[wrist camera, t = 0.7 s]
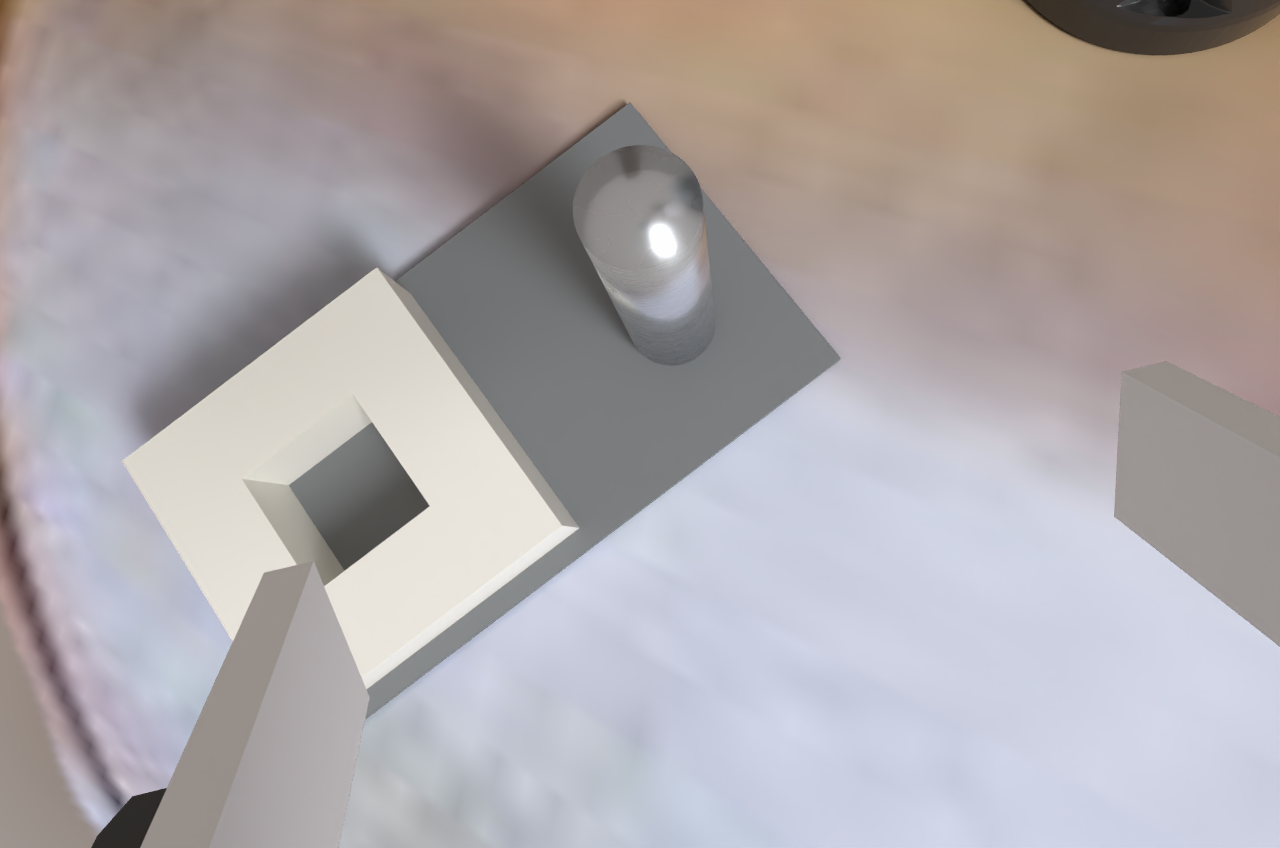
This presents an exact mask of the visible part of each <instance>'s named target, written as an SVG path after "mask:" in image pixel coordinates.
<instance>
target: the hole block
mask: <svg viewBox="0 0 1280 848" xmlns="http://www.w3.org/2000/svg"><path fill="white" fill-rule="evenodd" d="M371 422H372V423H373V424H374V425H375V427H376V428H377V430H378V431H379V433H380V434H381V436H382V437H383V439H384V440H385V441H386V443H387V444H388V446H389V447H390V449H391V450H392V452H393V453H394V455H395V456H396V458H397V459H398V460H399V462H400V463H401V465H402V466H403V468H404V469H405V471H406V472H407V474H408V475H409V476H410V478H411V479H412V481H413V482H414V484H415V485H416V487H417V488H418V490H419V491H420V492H421V494H422V495H423V497H424V498H425V500H426V501H427V503H428V504H429V507H428V508H427V509H426V510H424V511H423V512H422V513H420V514H419V515H418V516H416V517H415V518H414V519H412V520H411V521H410V522H408V523H407V524H406V525H404V526H403V527H402V528H400V529H399V530H398V531H397V532H395V533H394V534H393V535H391V536H390V537H389V538H387V539H386V540H385V541H383V542H382V543H381V544H379V545H378V546H377V547H375V548H374V549H373V550H371V551H370V552H369V553H368V554H366V555H365V556H364V557H362V558H361V559H360V560H358V561H357V562H356V563H354V564H353V565H352V566H350V567H349V568H348V569H346V570H345V571H344V569H343V567H342V566H341V564H340V563H339V561H338V560H337V558H336V557H335V555H334V554H333V552H332V551H331V549H330V548H329V546H328V545H327V543H326V541H325V540H324V538H323V537H322V535H321V534H320V532H319V531H318V529H317V528H316V526H315V525H314V523H313V522H312V520H311V519H310V517H309V515H308V514H307V512H306V511H305V509H304V508H303V506H302V505H301V503H300V502H299V500H298V499H297V497H296V496H295V494H294V493H293V491H292V490H291V488H290V486H289V485H290V484H291V483H292V482H294V481H295V480H296V479H298V478H299V477H300V476H302V475H303V474H304V473H306V472H307V471H308V470H309V469H311V468H312V467H313V466H315V465H316V464H317V463H319V462H320V461H321V460H323V459H324V458H325V457H327V456H328V455H329V454H331V453H332V452H333V451H334V450H336V449H337V448H338V447H340V446H341V445H342V444H344V443H345V442H346V441H348V440H349V439H350V438H352V437H353V436H354V435H356V434H357V433H358V432H360V431H361V430H362V429H363V428H365V427H366V426H367V425H369V424H370V423H371ZM122 462H123V464H124V465H125V467H126V468H127V470H128V472H129V473H130V475H131V477H132V478H133V480H134V481H135V483H136V485H137V486H138V488H139V490H140V491H141V493H142V494H143V496H144V498H145V499H146V501H147V503H148V504H149V506H150V507H151V509H152V511H153V512H154V514H155V516H156V517H157V519H158V520H159V522H160V524H161V525H162V527H163V529H164V530H165V532H166V533H167V535H168V537H169V538H170V540H171V542H172V543H173V545H174V546H175V548H176V550H177V551H178V553H179V555H180V556H181V558H182V559H183V561H184V563H185V564H186V566H187V568H188V569H189V571H190V572H191V574H192V576H193V577H194V579H195V581H196V582H197V584H198V585H199V587H200V589H201V590H202V592H203V594H204V595H205V597H206V598H207V600H208V602H209V603H210V605H211V607H212V608H213V610H214V611H215V613H216V615H217V616H218V618H219V620H220V621H221V623H222V624H223V626H224V628H225V629H226V631H227V633H228V634H229V636H230V637H231V639H232V641H233V640H234V638H235V636H236V634H237V631H238V629H239V627H240V625H241V623H242V620H243V618H244V616H245V614H246V611H247V609H248V607H249V605H250V603H251V600H252V598H253V596H254V594H255V591H256V589H257V587H258V585H259V583H260V580H261V578H262V576H263V574H264V573H265V572H269V571H273V570H277V569H282V568H286V567H290V566H294V565H299V564H303V563H307V562H312V561H314V563H315V566H316V568H317V570H318V573H319V575H320V578H321V580H322V583H323V585H324V587H325V590H326V592H327V595H328V597H329V600H330V602H331V605H332V607H333V609H334V612H335V614H336V617H337V619H338V622H339V624H340V626H341V629H342V631H343V634H344V636H345V639H346V641H347V643H348V646H349V648H350V651H351V653H352V656H353V658H354V660H355V663H356V665H357V668H358V670H359V673H360V675H361V678H362V680H363V682H364V685H365V687H366V690H367V689H368V688H369V687H370V686H372V685H373V684H374V683H376V682H377V681H378V680H380V679H381V678H382V677H384V676H385V675H386V674H388V673H389V672H390V671H392V670H393V669H394V668H396V667H397V666H398V665H399V664H401V663H402V662H403V661H405V660H406V659H407V658H409V657H410V656H411V655H413V654H414V653H415V652H417V651H418V650H419V649H421V648H422V647H423V646H425V645H426V644H427V643H429V642H430V641H431V640H432V639H434V638H435V637H436V636H438V635H439V634H440V633H442V632H443V631H444V630H446V629H447V628H448V627H450V626H451V625H452V624H454V623H455V622H456V621H458V620H459V619H460V618H462V617H463V616H464V615H465V614H467V613H468V612H469V611H471V610H472V609H473V608H475V607H476V606H477V605H479V604H480V603H481V602H483V601H484V600H485V599H487V598H488V597H489V596H491V595H492V594H493V593H495V592H496V591H497V590H498V589H500V588H501V587H502V586H504V585H505V584H506V583H508V582H509V581H510V580H512V579H513V578H514V577H516V576H517V575H518V574H520V573H521V572H522V571H524V570H525V569H526V568H528V567H529V566H530V565H531V564H533V563H534V562H535V561H537V560H538V559H539V558H541V557H542V556H543V555H545V554H546V553H547V552H549V551H550V550H551V549H553V548H554V547H555V546H557V545H558V544H559V543H560V542H562V541H563V540H564V539H566V538H567V537H568V536H570V535H571V534H572V533H574V532H575V531H576V530H578V529H579V526H578V525H577V523H576V522H575V521H574V519H573V518H572V517H571V515H570V514H569V512H568V511H567V510H566V508H565V507H564V505H563V504H562V503H561V501H560V500H559V499H558V497H557V496H556V494H555V493H554V492H553V490H552V489H551V487H550V486H549V485H548V483H547V482H546V481H545V479H544V478H543V476H542V475H541V474H540V472H539V471H538V469H537V468H536V467H535V465H534V464H533V463H532V461H531V460H530V458H529V457H528V456H527V454H526V453H525V451H524V450H523V449H522V447H521V446H520V444H519V443H518V442H517V440H516V439H515V438H514V436H513V435H512V433H511V432H510V431H509V429H508V428H507V426H506V425H505V424H504V422H503V421H502V420H501V418H500V417H499V415H498V414H497V413H496V411H495V410H494V408H493V407H492V406H491V404H490V403H489V402H488V400H487V399H486V397H485V396H484V395H483V393H482V392H481V390H480V389H479V388H478V386H477V385H476V383H475V382H474V381H473V379H472V378H471V377H470V375H469V374H468V372H467V371H466V370H465V368H464V367H463V365H462V364H461V363H460V361H459V360H458V359H457V357H456V356H455V354H454V353H453V352H452V350H451V349H450V347H449V346H448V345H447V343H446V342H445V341H444V339H443V338H442V336H441V335H440V334H439V332H438V331H437V329H436V328H435V327H434V325H433V324H432V323H431V321H430V320H429V318H428V317H427V316H426V314H425V313H424V311H423V310H422V309H421V307H420V306H419V304H418V303H417V302H416V300H415V299H414V298H413V296H412V295H411V293H409V292H408V291H407V290H405V289H404V288H403V287H402V286H400V285H399V284H398V283H396V282H395V281H394V280H393V279H391V278H390V277H389V276H387V275H386V274H385V273H384V272H382V271H381V270H380V269H378V268H377V267H376V268H375V269H374V270H372V271H371V272H370V273H368V274H367V275H366V276H365V277H363V278H362V279H361V280H359V281H358V282H357V283H355V284H354V285H353V286H351V287H350V288H349V289H347V290H346V291H345V292H343V293H342V294H341V295H340V296H338V297H337V298H336V299H334V300H333V301H332V302H330V303H329V304H328V305H326V306H325V307H324V308H322V309H321V310H320V311H318V312H317V313H316V314H315V315H313V316H312V317H311V318H309V319H308V320H307V321H305V322H304V323H303V324H301V325H300V326H299V327H297V328H296V329H295V330H294V331H292V332H291V333H290V334H288V335H287V336H286V337H284V338H283V339H282V340H280V341H279V342H278V343H276V344H275V345H274V346H272V347H271V348H270V349H269V350H267V351H266V352H265V353H263V354H262V355H261V356H259V357H258V358H257V359H255V360H254V361H253V362H251V363H250V364H249V365H247V366H246V367H245V368H244V369H242V370H241V371H240V372H238V373H237V374H236V375H234V376H233V377H232V378H230V379H229V380H228V381H226V382H225V383H224V384H223V385H221V386H220V387H219V388H217V389H216V390H215V391H213V392H212V393H211V394H209V395H208V396H207V397H205V398H204V399H203V400H201V401H200V402H199V403H198V404H196V405H195V406H194V407H192V408H191V409H190V410H188V411H187V412H186V413H184V414H183V415H182V416H180V417H179V418H178V419H176V420H175V421H174V422H173V423H171V424H170V425H169V426H167V427H166V428H165V429H163V430H162V431H161V432H159V433H158V434H157V435H155V436H154V437H153V438H151V439H150V440H149V441H148V442H146V443H145V444H144V445H142V446H141V447H140V448H138V449H137V450H136V451H134V452H133V453H132V454H130V455H129V456H128V457H127V458H125V459H124V460H123V461H122Z"/></svg>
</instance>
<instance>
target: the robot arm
mask: <svg viewBox="0 0 1280 848" xmlns="http://www.w3.org/2000/svg"><path fill="white" fill-rule="evenodd" d="M1027 1H1028V2H1029V3H1030V4H1031V5H1032V6H1033V7H1034V8H1035V9H1036V10H1037V11H1038V12H1039V13H1041V14H1042V15H1043V16H1044V17H1045V18H1047V19H1048V20H1050V21H1051V22H1052V23H1054V24H1055V25H1057V26H1058V27H1060V28H1062V29H1063V30H1065V31H1067V32H1068V33H1070V34H1072V35H1074V36H1076V37H1078V38H1081V39H1083V40H1085V41H1088V42H1090V43H1093V44H1096V45H1099V46H1102V47H1105V48H1109V49H1113V50H1117V51H1122V52H1127V53H1135V54H1145V55H1174V54H1184V53H1192V52H1197V51H1202V50H1206V49H1210V48H1214V47H1218V46H1221V45H1223V44H1226V43H1229V42H1232V41H1234V40H1236V39H1239V38H1241V37H1243V36H1245V35H1247V34H1249V33H1251V32H1253V31H1255V30H1257V29H1258V28H1260V27H1262V26H1263V25H1265V24H1266V23H1268V22H1269V21H1270V20H1272V19H1273V18H1275V17H1276V16H1277V15H1278V14H1280V0H1027ZM1114 517H1115V518H1117V519H1118V520H1119V521H1121V522H1122V523H1123V524H1124V525H1126V526H1127V527H1128V528H1129V529H1131V530H1132V531H1133V532H1135V533H1136V534H1137V535H1138V536H1140V537H1141V538H1142V539H1144V540H1145V541H1146V542H1147V543H1149V544H1150V545H1151V546H1152V547H1154V548H1155V549H1156V550H1158V551H1159V552H1160V553H1161V554H1163V555H1164V556H1165V557H1166V558H1168V559H1169V560H1170V561H1172V562H1173V563H1174V564H1175V565H1177V566H1178V567H1179V568H1180V569H1182V570H1183V571H1184V572H1186V573H1187V574H1188V575H1189V576H1191V577H1192V578H1193V579H1194V580H1196V581H1197V582H1198V583H1200V584H1201V585H1202V586H1203V587H1205V588H1206V589H1207V590H1208V591H1210V592H1211V593H1212V594H1214V595H1215V596H1216V597H1217V598H1219V599H1220V600H1221V601H1222V602H1224V603H1225V604H1226V605H1228V606H1229V607H1230V608H1231V609H1233V610H1234V611H1235V612H1236V613H1238V614H1239V615H1240V616H1242V617H1243V618H1244V619H1245V620H1247V621H1248V622H1249V623H1250V624H1252V625H1253V626H1254V627H1256V628H1257V629H1258V630H1259V631H1261V632H1262V633H1263V634H1264V635H1266V636H1267V637H1268V638H1270V639H1271V640H1272V641H1273V642H1275V643H1276V644H1277V645H1278V646H1280V417H1279V416H1277V415H1275V414H1273V413H1271V412H1269V411H1267V410H1265V409H1263V408H1261V407H1259V406H1257V405H1254V404H1252V403H1250V402H1248V401H1246V400H1244V399H1242V398H1240V397H1238V396H1236V395H1234V394H1232V393H1230V392H1228V391H1226V390H1224V389H1222V388H1220V387H1218V386H1216V385H1214V384H1212V383H1210V382H1207V381H1205V380H1203V379H1201V378H1199V377H1197V376H1195V375H1193V374H1191V373H1189V372H1187V371H1185V370H1183V369H1181V368H1179V367H1177V366H1175V365H1173V364H1171V363H1169V362H1167V361H1166V362H1162V363H1158V364H1153V365H1149V366H1145V367H1140V368H1136V369H1132V370H1128V371H1123V372H1122V374H1121V394H1120V413H1119V432H1118V452H1117V471H1116V490H1115V510H1114ZM369 698H370V697H369V695H368V692H367V690H366V687H365V685H364V682H363V680H362V678H361V675H360V673H359V670H358V668H357V665H356V663H355V660H354V658H353V656H352V653H351V651H350V648H349V646H348V643H347V641H346V639H345V636H344V634H343V631H342V629H341V626H340V624H339V622H338V619H337V617H336V614H335V612H334V609H333V607H332V605H331V602H330V600H329V597H328V595H327V592H326V590H325V587H324V585H323V583H322V580H321V578H320V575H319V573H318V570H317V568H316V566H315V563H314V561H312V562H307V563H303V564H299V565H294V566H290V567H286V568H282V569H277V570H273V571H269V572H265V573H264V574H263V576H262V578H261V580H260V583H259V585H258V587H257V589H256V591H255V594H254V596H253V598H252V600H251V603H250V605H249V607H248V609H247V611H246V614H245V616H244V618H243V620H242V623H241V625H240V627H239V629H238V631H237V634H236V636H235V638H234V640H233V643H232V645H231V647H230V649H229V651H228V654H227V656H226V658H225V660H224V663H223V665H222V667H221V669H220V671H219V674H218V676H217V678H216V680H215V683H214V685H213V687H212V689H211V692H210V694H209V696H208V698H207V700H206V703H205V705H204V707H203V709H202V712H201V714H200V716H199V718H198V720H197V723H196V725H195V727H194V729H193V732H192V734H191V736H190V738H189V740H188V743H187V745H186V747H185V749H184V752H183V754H182V756H181V758H180V760H179V763H178V765H177V767H176V769H175V772H174V774H173V776H172V778H171V780H170V783H169V785H168V787H167V788H165V789H161V790H157V791H153V792H149V793H145V794H140V795H136V796H132V798H131V799H130V800H129V801H128V802H127V803H126V804H125V805H124V807H123V808H122V809H121V810H120V811H119V812H118V813H117V814H116V816H115V817H114V818H113V819H112V820H111V821H110V822H109V823H108V824H107V826H106V827H105V828H104V829H103V830H102V831H101V832H100V833H99V835H98V836H97V838H96V840H95V842H94V844H93V846H92V848H339V845H340V840H341V835H342V830H343V825H344V820H345V815H346V810H347V805H348V801H349V796H350V791H351V786H352V781H353V776H354V771H355V766H356V761H357V757H358V752H359V747H360V742H361V737H362V732H363V727H364V722H365V718H366V713H367V708H368V703H369Z"/></svg>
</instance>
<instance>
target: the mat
mask: <svg viewBox="0 0 1280 848" xmlns="http://www.w3.org/2000/svg"><path fill="white" fill-rule="evenodd" d="M633 145H649V146H655V147H659V148H662V149H665V150H667V151H669V152H671V151H670V150H669V149H668V148H667V146H666V145H665V144H664V143H663V142H662V140H661V139H660V138H659V137H658V136H657V134H656V133H655V132H654V131H653V129H652V128H651V127H650V126H649V125H648V123H647V122H646V121H645V120H644V119H643V117H642V116H641V115H640V114H639V112H638V111H637V110H636V109H635V108H634V106H633V105H632V104H631V103H629V104H627V105H626V106H625V107H623V108H622V109H621V110H619V111H618V112H617V113H615V114H614V115H613V116H612V117H610V118H609V119H608V120H606V121H605V122H604V123H602V124H601V125H600V126H598V127H597V128H596V129H594V130H593V131H592V132H590V133H589V134H588V135H587V136H585V137H584V138H583V139H581V140H580V141H579V142H577V143H576V144H575V145H573V146H572V147H571V148H569V149H568V150H567V151H565V152H564V153H563V154H562V155H560V156H559V157H558V158H556V159H555V160H554V161H552V162H551V163H550V164H548V165H547V166H546V167H544V168H543V169H542V170H540V171H539V172H538V173H537V174H535V175H534V176H533V177H531V178H530V179H529V180H527V181H526V182H525V183H523V184H522V185H521V186H519V187H518V188H517V189H515V190H514V191H513V192H512V193H510V194H509V195H508V196H506V197H505V198H504V199H502V200H501V201H500V202H498V203H497V204H496V205H494V206H493V207H492V208H491V209H489V210H488V211H487V212H485V213H484V214H483V215H481V216H480V217H479V218H477V219H476V220H475V221H473V222H472V223H471V224H469V225H468V226H467V227H466V228H464V229H463V230H462V231H460V232H459V233H458V234H456V235H455V236H454V237H452V238H451V239H450V240H448V241H447V242H446V243H444V244H443V245H442V246H441V247H439V248H438V249H437V250H435V251H434V252H433V253H431V254H430V255H429V256H427V257H426V258H425V259H423V260H422V261H421V262H419V263H418V264H417V265H416V266H414V267H413V268H412V269H410V270H409V271H408V272H406V273H405V274H404V275H402V276H401V277H400V278H398V279H397V280H396V281H395V282H396V283H398V284H399V285H400V286H402V287H403V288H404V289H405V290H407V291H408V292H409V293H411V295H412V296H413V298H414V299H415V300H416V302H417V303H418V304H419V306H420V307H421V309H422V310H423V311H424V313H425V314H426V316H427V317H428V318H429V320H430V321H431V323H432V324H433V325H434V327H435V328H436V329H437V331H438V332H439V334H440V335H441V336H442V338H443V339H444V341H445V342H446V343H447V345H448V346H449V347H450V349H451V350H452V352H453V353H454V354H455V356H456V357H457V359H458V360H459V361H460V363H461V364H462V365H463V367H464V368H465V370H466V371H467V372H468V374H469V375H470V377H471V378H472V379H473V381H474V382H475V383H476V385H477V386H478V388H479V389H480V390H481V392H482V393H483V395H484V396H485V397H486V399H487V400H488V402H489V403H490V404H491V406H492V407H493V408H494V410H495V411H496V413H497V414H498V415H499V417H500V418H501V420H502V421H503V422H504V424H505V425H506V426H507V428H508V429H509V431H510V432H511V433H512V435H513V436H514V438H515V439H516V440H517V442H518V443H519V444H520V446H521V447H522V449H523V450H524V451H525V453H526V454H527V456H528V457H529V458H530V460H531V461H532V463H533V464H534V465H535V467H536V468H537V469H538V471H539V472H540V474H541V475H542V476H543V478H544V479H545V481H546V482H547V483H548V485H549V486H550V487H551V489H552V490H553V492H554V493H555V494H556V496H557V497H558V499H559V500H560V501H561V503H562V504H563V505H564V507H565V508H566V510H567V511H568V512H569V514H570V515H571V517H572V518H573V519H574V521H575V522H576V523H577V525H578V526H579V529H578V530H576V531H575V532H574V533H572V534H571V535H570V536H568V537H567V538H566V539H564V540H563V541H562V542H560V543H559V544H558V545H557V546H555V547H554V548H553V549H551V550H550V551H549V552H547V553H546V554H545V555H543V556H542V557H541V558H539V559H538V560H537V561H535V562H534V563H533V564H531V565H530V566H529V567H528V568H526V569H525V570H524V571H522V572H521V573H520V574H518V575H517V576H516V577H514V578H513V579H512V580H510V581H509V582H508V583H506V584H505V585H504V586H502V587H501V588H500V589H498V590H497V591H496V592H495V593H493V594H492V595H491V596H489V597H488V598H487V599H485V600H484V601H483V602H481V603H480V604H479V605H477V606H476V607H475V608H473V609H472V610H471V611H469V612H468V613H467V614H465V615H464V616H463V617H462V618H460V619H459V620H458V621H456V622H455V623H454V624H452V625H451V626H450V627H448V628H447V629H446V630H444V631H443V632H442V633H440V634H439V635H438V636H436V637H435V638H434V639H432V640H431V641H430V642H429V643H427V644H426V645H425V646H423V647H422V648H421V649H419V650H418V651H417V652H415V653H414V654H413V655H411V656H410V657H409V658H407V659H406V660H405V661H403V662H402V663H401V664H399V665H398V666H397V667H396V668H394V669H393V670H392V671H390V672H389V673H388V674H386V675H385V676H384V677H382V678H381V679H380V680H378V681H377V682H376V683H374V684H373V685H372V686H370V687H369V688H368V689H367V692H368V695H369V697H370V698H369V703H368V708H367V713H366V718H365V719H367V718H368V717H369V716H371V715H372V714H373V713H374V712H376V711H377V710H378V709H380V708H381V707H382V706H384V705H385V704H386V703H388V702H389V701H390V700H392V699H393V698H394V697H396V696H397V695H398V694H400V693H401V692H402V691H404V690H405V689H406V688H407V687H409V686H410V685H411V684H413V683H414V682H415V681H417V680H418V679H419V678H421V677H422V676H423V675H425V674H426V673H427V672H429V671H430V670H431V669H433V668H434V667H435V666H437V665H438V664H439V663H440V662H442V661H443V660H444V659H446V658H447V657H448V656H450V655H451V654H452V653H454V652H455V651H456V650H458V649H459V648H460V647H462V646H463V645H464V644H466V643H467V642H468V641H470V640H471V639H472V638H473V637H475V636H476V635H477V634H479V633H480V632H481V631H483V630H484V629H485V628H487V627H488V626H489V625H491V624H492V623H493V622H495V621H496V620H497V619H499V618H500V617H501V616H503V615H504V614H505V613H506V612H508V611H509V610H510V609H512V608H513V607H514V606H516V605H517V604H518V603H520V602H521V601H522V600H524V599H525V598H526V597H528V596H529V595H530V594H532V593H533V592H534V591H536V590H537V589H538V588H539V587H541V586H542V585H543V584H545V583H546V582H547V581H549V580H550V579H551V578H553V577H554V576H555V575H557V574H558V573H559V572H561V571H562V570H563V569H565V568H566V567H567V566H569V565H570V564H571V563H572V562H574V561H575V560H576V559H578V558H579V557H580V556H582V555H583V554H584V553H586V552H587V551H588V550H590V549H591V548H592V547H594V546H595V545H596V544H598V543H599V542H600V541H602V540H603V539H604V538H605V537H607V536H608V535H609V534H611V533H612V532H613V531H615V530H616V529H617V528H619V527H620V526H621V525H623V524H624V523H625V522H627V521H628V520H629V519H631V518H632V517H633V516H635V515H636V514H637V513H638V512H640V511H641V510H642V509H644V508H645V507H646V506H648V505H649V504H650V503H652V502H653V501H654V500H656V499H657V498H658V497H660V496H661V495H662V494H664V493H665V492H666V491H668V490H669V489H670V488H671V487H673V486H674V485H675V484H677V483H678V482H679V481H681V480H682V479H683V478H685V477H686V476H687V475H689V474H690V473H691V472H693V471H694V470H695V469H697V468H698V467H699V466H701V465H702V464H703V463H704V462H706V461H707V460H708V459H710V458H711V457H712V456H714V455H715V454H716V453H718V452H719V451H720V450H722V449H723V448H724V447H726V446H727V445H728V444H730V443H731V442H732V441H734V440H735V439H736V438H737V437H739V436H740V435H741V434H743V433H744V432H745V431H747V430H748V429H749V428H751V427H752V426H753V425H755V424H756V423H757V422H759V421H760V420H761V419H763V418H764V417H765V416H767V415H768V414H769V413H770V412H772V411H773V410H774V409H776V408H777V407H778V406H780V405H781V404H782V403H784V402H785V401H786V400H788V399H789V398H790V397H792V396H793V395H794V394H796V393H797V392H798V391H800V390H801V389H802V388H803V387H805V386H806V385H807V384H809V383H810V382H811V381H813V380H814V379H815V378H817V377H818V376H819V375H821V374H822V373H823V372H825V371H826V370H827V369H829V368H830V367H831V366H833V365H834V364H835V363H836V362H838V361H839V360H840V357H839V355H838V354H837V353H836V352H835V350H834V349H833V348H832V347H831V346H830V344H829V343H828V342H827V341H826V340H825V338H824V337H823V336H822V335H821V333H820V332H819V331H818V330H817V329H816V327H815V326H814V325H813V324H812V323H811V321H810V320H809V319H808V318H807V316H806V315H805V314H804V313H803V312H802V310H801V309H800V308H799V307H798V306H797V304H796V303H795V302H794V301H793V299H792V298H791V297H790V296H789V295H788V293H787V292H786V291H785V290H784V289H783V287H782V286H781V285H780V284H779V282H778V281H777V280H776V279H775V278H774V276H773V275H772V274H771V273H770V272H769V270H768V269H767V268H766V267H765V265H764V264H763V263H762V262H761V261H760V259H759V258H758V257H757V256H756V255H755V253H754V252H753V251H752V250H751V248H750V247H749V246H748V245H747V244H746V242H745V241H744V240H743V239H742V238H741V236H740V235H739V234H738V233H737V231H736V230H735V229H734V228H733V227H732V225H731V224H730V223H729V222H728V221H727V219H726V218H725V217H724V216H723V214H722V213H721V212H720V211H719V210H718V208H717V207H716V206H715V205H714V204H713V202H712V201H711V200H710V199H709V197H708V196H707V195H706V194H705V193H704V191H703V190H702V189H701V193H702V199H703V208H704V218H705V227H706V237H707V246H708V256H709V265H710V275H711V284H712V294H713V303H714V313H715V330H714V335H713V337H712V340H711V342H710V344H709V345H708V347H707V348H706V349H705V351H704V352H703V353H702V354H701V355H699V356H698V357H697V358H695V359H694V360H692V361H690V362H688V363H685V364H681V365H674V366H668V365H661V364H658V363H655V362H653V361H651V360H649V359H647V358H646V357H645V356H643V355H642V354H641V353H640V352H639V351H638V349H637V348H636V346H635V345H634V343H633V341H632V339H631V337H630V335H629V333H628V331H627V329H626V328H625V326H624V324H623V322H622V320H621V318H620V316H619V314H618V312H617V310H616V308H615V306H614V304H613V302H612V300H611V298H610V296H609V294H608V292H607V290H606V289H605V287H604V285H603V283H602V281H601V279H600V277H599V275H598V273H597V271H596V269H595V267H594V265H593V263H592V261H591V259H590V257H589V255H588V253H587V251H586V250H585V248H584V246H583V244H582V242H581V240H580V238H579V236H578V234H577V231H576V228H575V225H574V219H573V201H574V196H575V192H576V189H577V187H578V184H579V182H580V181H581V179H582V177H583V176H584V174H585V173H586V171H587V170H588V169H589V168H590V167H591V166H592V165H593V164H594V163H595V162H596V161H597V160H598V159H600V158H601V157H603V156H604V155H606V154H608V153H610V152H612V151H614V150H616V149H619V148H622V147H627V146H633ZM289 486H290V488H291V490H292V491H293V493H294V494H295V496H296V497H297V499H298V500H299V502H300V503H301V505H302V506H303V508H304V509H305V511H306V512H307V514H308V515H309V517H310V519H311V520H312V522H313V523H314V525H315V526H316V528H317V529H318V531H319V532H320V534H321V535H322V537H323V538H324V540H325V541H326V543H327V545H328V546H329V548H330V549H331V551H332V552H333V554H334V555H335V557H336V558H337V560H338V561H339V563H340V564H341V566H342V567H343V569H344V571H345V570H346V569H348V568H349V567H350V566H352V565H353V564H354V563H356V562H357V561H358V560H360V559H361V558H362V557H364V556H365V555H366V554H368V553H369V552H370V551H371V550H373V549H374V548H375V547H377V546H378V545H379V544H381V543H382V542H383V541H385V540H386V539H387V538H389V537H390V536H391V535H393V534H394V533H395V532H397V531H398V530H399V529H400V528H402V527H403V526H404V525H406V524H407V523H408V522H410V521H411V520H412V519H414V518H415V517H416V516H418V515H419V514H420V513H422V512H423V511H424V510H426V509H427V508H428V507H429V504H428V503H427V501H426V500H425V498H424V497H423V495H422V494H421V492H420V491H419V490H418V488H417V487H416V485H415V484H414V482H413V481H412V479H411V478H410V476H409V475H408V474H407V472H406V471H405V469H404V468H403V466H402V465H401V463H400V462H399V460H398V459H397V458H396V456H395V455H394V453H393V452H392V450H391V449H390V447H389V446H388V444H387V443H386V441H385V440H384V439H383V437H382V436H381V434H380V433H379V431H378V430H377V428H376V427H375V425H374V424H373V423H372V422H371V423H370V424H369V425H367V426H366V427H365V428H363V429H362V430H361V431H360V432H358V433H357V434H356V435H354V436H353V437H352V438H350V439H349V440H348V441H346V442H345V443H344V444H342V445H341V446H340V447H338V448H337V449H336V450H334V451H333V452H332V453H331V454H329V455H328V456H327V457H325V458H324V459H323V460H321V461H320V462H319V463H317V464H316V465H315V466H313V467H312V468H311V469H309V470H308V471H307V472H306V473H304V474H303V475H302V476H300V477H299V478H298V479H296V480H295V481H294V482H292V483H291V484H290V485H289Z"/></svg>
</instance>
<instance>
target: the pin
mask: <svg viewBox="0 0 1280 848" xmlns="http://www.w3.org/2000/svg"><path fill="white" fill-rule="evenodd" d="M573 219H574V225H575V228H576V231H577V234H578V236H579V238H580V240H581V242H582V244H583V246H584V248H585V250H586V251H587V253H588V255H589V257H590V259H591V261H592V263H593V265H594V267H595V269H596V271H597V273H598V275H599V277H600V279H601V281H602V283H603V285H604V287H605V289H606V290H607V292H608V294H609V296H610V298H611V300H612V302H613V304H614V306H615V308H616V310H617V312H618V314H619V316H620V318H621V320H622V322H623V324H624V326H625V328H626V329H627V331H628V333H629V335H630V337H631V339H632V341H633V343H634V345H635V346H636V348H637V349H638V351H639V352H640V353H641V354H642V355H643V356H645V357H646V358H647V359H649V360H651V361H653V362H655V363H658V364H661V365H668V366H674V365H681V364H685V363H688V362H690V361H692V360H694V359H695V358H697V357H698V356H699V355H701V354H702V353H703V352H704V351H705V349H706V348H707V347H708V345H709V344H710V342H711V340H712V337H713V335H714V330H715V313H714V303H713V294H712V284H711V275H710V265H709V256H708V246H707V237H706V227H705V218H704V208H703V199H702V193H701V188H700V186H699V183H698V180H697V178H696V176H695V175H694V173H693V172H692V170H691V169H690V167H689V166H688V165H687V164H686V163H685V162H684V161H683V160H682V159H680V158H679V157H678V156H676V155H675V154H673V153H671V152H669V151H667V150H665V149H662V148H659V147H655V146H649V145H633V146H627V147H622V148H619V149H616V150H614V151H612V152H610V153H608V154H606V155H604V156H603V157H601V158H600V159H598V160H597V161H596V162H595V163H594V164H593V165H592V166H591V167H590V168H589V169H588V170H587V171H586V173H585V174H584V176H583V177H582V179H581V181H580V182H579V184H578V187H577V189H576V192H575V196H574V201H573Z"/></svg>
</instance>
